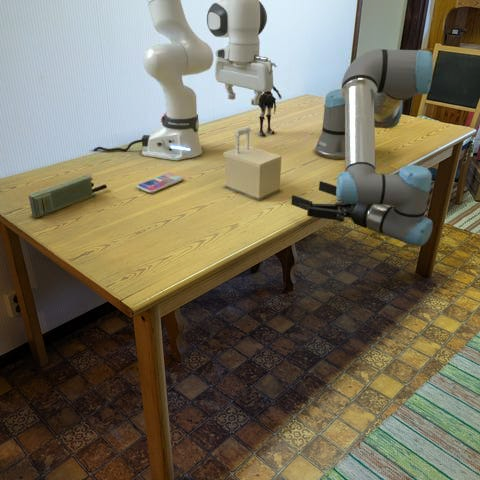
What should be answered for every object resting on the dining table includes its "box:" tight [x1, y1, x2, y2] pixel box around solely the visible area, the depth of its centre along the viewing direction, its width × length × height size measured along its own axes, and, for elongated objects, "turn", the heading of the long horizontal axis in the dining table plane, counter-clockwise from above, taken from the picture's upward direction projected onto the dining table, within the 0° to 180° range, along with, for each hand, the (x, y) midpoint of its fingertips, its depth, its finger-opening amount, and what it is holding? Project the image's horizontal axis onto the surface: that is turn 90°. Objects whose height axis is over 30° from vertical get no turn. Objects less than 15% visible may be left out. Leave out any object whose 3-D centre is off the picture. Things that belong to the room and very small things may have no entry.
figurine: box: [257, 59, 283, 137], centre depth 204 cm, size 15×6×30 cm, turn 132°
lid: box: [223, 126, 282, 168], centre depth 155 cm, size 15×10×8 cm
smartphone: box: [136, 172, 184, 194], centre depth 164 cm, size 7×1×15 cm
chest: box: [224, 156, 282, 201], centre depth 159 cm, size 14×10×10 cm
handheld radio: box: [28, 173, 108, 219], centre depth 150 cm, size 7×3×25 cm
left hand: (243, 102), depth 151 cm, fingers open, 8 cm apart
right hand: (306, 192), depth 147 cm, fingers open, 13 cm apart
